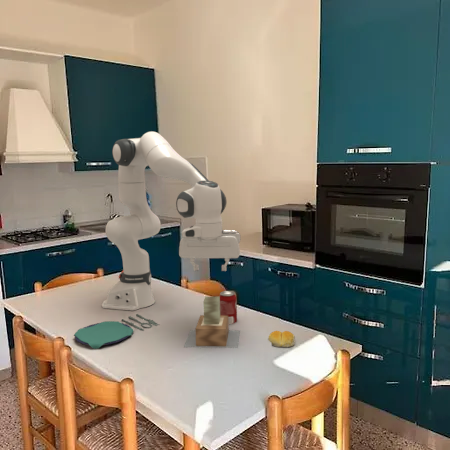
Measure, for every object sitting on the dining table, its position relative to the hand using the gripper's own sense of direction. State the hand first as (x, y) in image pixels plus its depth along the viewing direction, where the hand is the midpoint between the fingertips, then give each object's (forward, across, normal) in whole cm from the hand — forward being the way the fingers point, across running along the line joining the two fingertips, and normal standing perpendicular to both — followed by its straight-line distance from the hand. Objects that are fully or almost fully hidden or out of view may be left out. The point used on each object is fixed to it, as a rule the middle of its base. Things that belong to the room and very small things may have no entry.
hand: (210, 270), depth 146 cm
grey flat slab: (+25, 0, +1) cm, 25 cm away
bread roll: (+25, -24, +1) cm, 35 cm away
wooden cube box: (+24, 0, +1) cm, 24 cm away
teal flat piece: (+26, +36, -6) cm, 45 cm away
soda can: (+25, -4, -15) cm, 30 cm away
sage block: (+18, 0, +1) cm, 18 cm away
